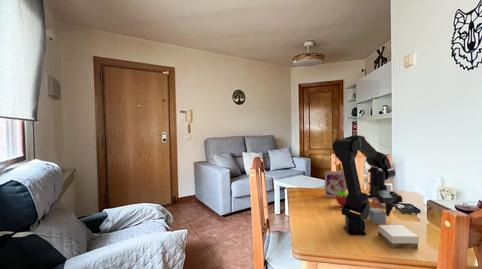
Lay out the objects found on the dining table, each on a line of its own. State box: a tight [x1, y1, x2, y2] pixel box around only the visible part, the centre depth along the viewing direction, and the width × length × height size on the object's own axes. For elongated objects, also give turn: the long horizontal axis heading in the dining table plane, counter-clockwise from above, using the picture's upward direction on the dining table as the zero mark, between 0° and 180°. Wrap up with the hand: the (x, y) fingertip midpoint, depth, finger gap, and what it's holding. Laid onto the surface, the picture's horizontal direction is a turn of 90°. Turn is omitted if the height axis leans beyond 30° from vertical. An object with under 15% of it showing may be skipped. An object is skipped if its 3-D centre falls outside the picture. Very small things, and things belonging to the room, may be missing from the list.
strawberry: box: [335, 188, 348, 207], centre depth 122 cm, size 6×7×10 cm
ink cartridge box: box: [371, 178, 393, 207], centre depth 124 cm, size 9×5×15 cm, turn 47°
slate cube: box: [367, 208, 387, 225], centre depth 104 cm, size 5×5×5 cm
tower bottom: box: [377, 231, 419, 250], centre depth 86 cm, size 9×9×2 cm
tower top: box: [377, 224, 420, 244], centre depth 86 cm, size 9×9×2 cm
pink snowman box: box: [324, 170, 347, 198], centre depth 140 cm, size 11×7×15 cm, turn 67°
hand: (376, 216), depth 104 cm, fingers open, 9 cm apart
